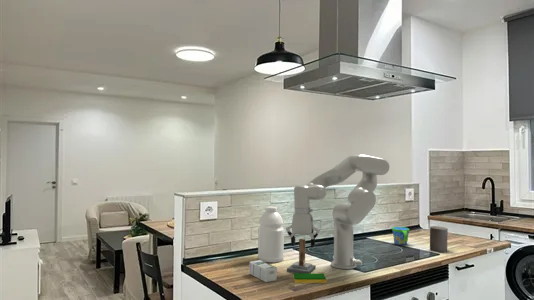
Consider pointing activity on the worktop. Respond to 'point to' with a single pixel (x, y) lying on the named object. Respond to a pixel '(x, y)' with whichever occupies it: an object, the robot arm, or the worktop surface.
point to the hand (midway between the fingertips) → (303, 246)
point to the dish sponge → (309, 278)
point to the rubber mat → (299, 270)
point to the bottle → (271, 236)
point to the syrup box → (263, 270)
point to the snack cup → (400, 235)
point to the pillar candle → (438, 238)
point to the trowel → (302, 257)
